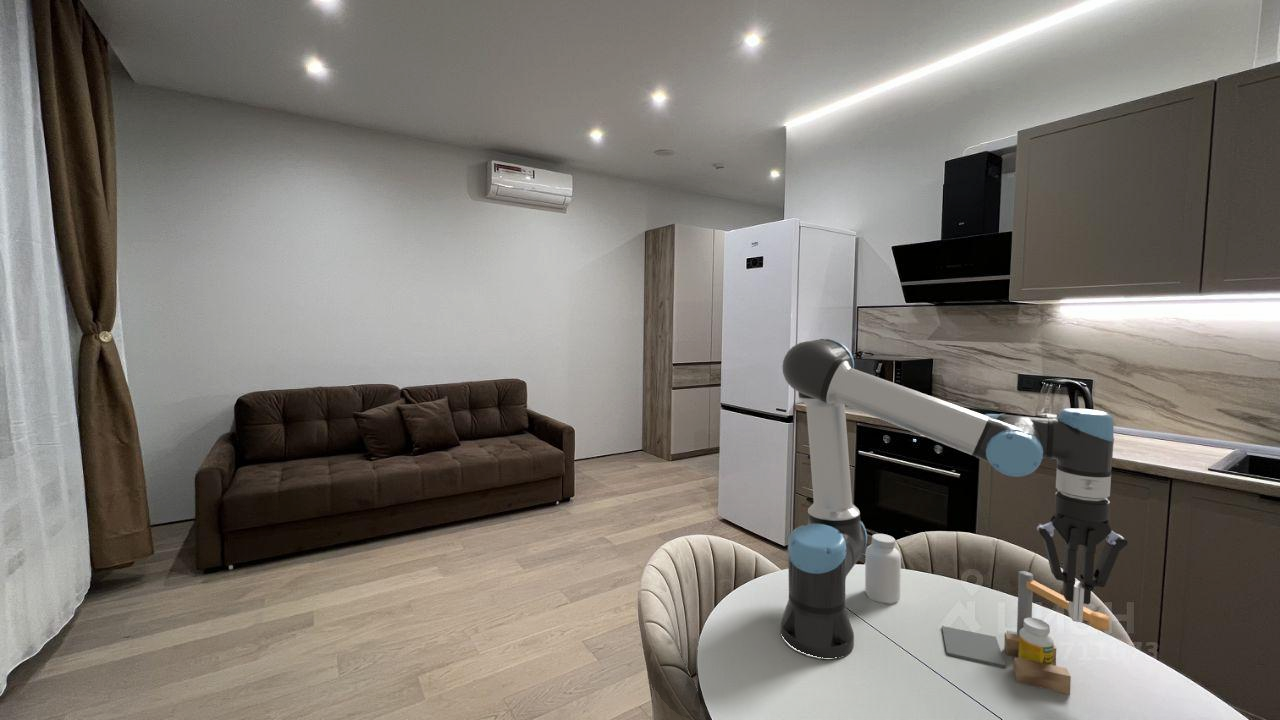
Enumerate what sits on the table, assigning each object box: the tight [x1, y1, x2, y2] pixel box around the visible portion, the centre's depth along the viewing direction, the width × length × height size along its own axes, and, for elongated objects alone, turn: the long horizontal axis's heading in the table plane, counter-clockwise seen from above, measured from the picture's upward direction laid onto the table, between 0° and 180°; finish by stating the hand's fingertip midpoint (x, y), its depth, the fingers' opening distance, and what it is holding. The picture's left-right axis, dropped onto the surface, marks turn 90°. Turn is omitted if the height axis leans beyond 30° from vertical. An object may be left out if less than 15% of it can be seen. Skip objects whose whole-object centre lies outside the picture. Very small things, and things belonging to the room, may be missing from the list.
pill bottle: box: [864, 533, 902, 604], centre depth 127 cm, size 8×8×15 cm
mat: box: [941, 625, 1007, 669], centre depth 107 cm, size 10×10×1 cm
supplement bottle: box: [1017, 617, 1055, 665], centre depth 100 cm, size 5×5×10 cm
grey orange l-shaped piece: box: [1016, 570, 1111, 635], centre depth 100 cm, size 3×17×14 cm, turn 11°
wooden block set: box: [1003, 629, 1072, 695], centre depth 103 cm, size 8×17×4 cm, turn 155°
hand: (1075, 617), depth 95 cm, fingers closed
